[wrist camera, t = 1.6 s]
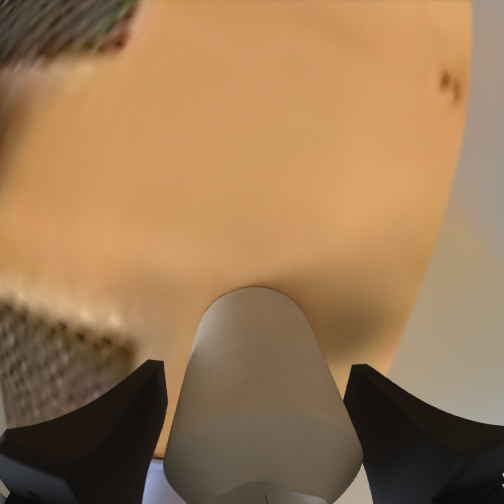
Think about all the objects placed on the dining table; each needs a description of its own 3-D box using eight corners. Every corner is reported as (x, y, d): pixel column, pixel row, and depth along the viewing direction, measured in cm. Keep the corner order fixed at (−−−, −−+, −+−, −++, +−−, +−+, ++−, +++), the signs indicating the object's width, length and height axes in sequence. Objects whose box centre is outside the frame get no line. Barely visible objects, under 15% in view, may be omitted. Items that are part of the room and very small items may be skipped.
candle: (280, 264, 14) (342, 420, 5) (325, 354, 16) (393, 516, 6) (176, 315, 15) (106, 486, 5) (231, 396, 16) (227, 562, 6)
